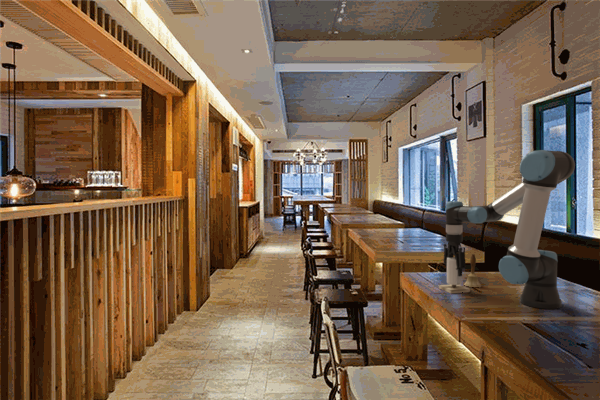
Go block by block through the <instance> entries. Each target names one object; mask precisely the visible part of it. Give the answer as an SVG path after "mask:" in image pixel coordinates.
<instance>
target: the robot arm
mask: <svg viewBox="0 0 600 400" xmlns="http://www.w3.org/2000/svg"><path fill="white" fill-rule="evenodd" d="M575 164H576V163H575V160H574V158H573V157H572V156H571V155H570V154H569V153H567V152H565V151H561V150H546V149H540V150H539V149H538V150H531V151H530V152H528V153H527V154H525V155H524V157H523V158H522V159H521V161H520V164H519V173H520V174H521V177H522V178H523V179H522V182H520V183H518V184H517V185H516V186H513V188H511V189H510V190H508V191H506V192H505V193H504V194H502V195H501V196H499V197H498V198H496V199H495V200H493V201H492V202H491V203H489V204H488V205H475V206H473V205H466V206H465V205H464V203H463V201H458V200H457V201H456V200H455V201H454V200H453V201H450V200H449V201H447V202H446V204H445V205H446V206H445V217H446V218H445V233H446V234H445V241H446V242H447V243H445V244H444V243H443V249H444V250H443V265H445V266H446V272H447V258H452V257H455V260H456V265H457V268H456V283H462V282H463V270H464V269H467V268H466V254H465V253H466V247H463V246H462V245H461V243H463V241H464V240H463V236H464V235H463V224H464V223H471V224H484V223H485V222H486V223H487V222H488V223H489V222H497V221H498V222H499V221H501V220H502V219H503V218H504V216H505V215H506V214H507V213H509V212H511V211H513V210H514V209H515V208H517V207H519V206H521V208H520V213H519V217H518V222H517V226H516V231H515V235H514V238H513V239H514V240H513V244H511V245H510V246H508V248H507V252H506V255H504V256H503V257H502V258H500V260H499V262H498V271H499V274H500V275H501V277H502V279H504V280H505V281H506V282H508V284H512V285H524V287H523V289H522V294H520V299H519V301H520V303H521V304H523V305H524V306H527V307H531V308H537V309H545V310H546V309H547V310H555V309H560V308H562V305H563V304H562V303H563V301H562V299H561V297H560V294H559V290H558V262H559V260H558V254H557V253H556V252H555V251H551V250H546V249H545V250H543V249H538V247H539V244H540V239H541V234H542V230H543V226H544V221H545V219H546V214H547V208H548V204H549V201H550V196H551V192H552V191H554V190H555V189H557V187H558V185H559V184H561V183H562V182H564V181H565V180H567V179H569V178H570V177H571V176H572V175H573V173H574V171H575V166H576V165H575ZM462 284H463V283H462Z"/></svg>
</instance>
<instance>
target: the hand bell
mask: <svg viewBox="0 0 600 400" xmlns="http://www.w3.org/2000/svg"><path fill="white" fill-rule="evenodd" d="M469 261H470V273H469V274H468V275H467V277H466V278H467V279H466V280H465V282H464V283H463V286H464V285H465V286H464V287H466V286H469V287H468V288H472V287H479V288H481V287H482V284H481V283H480V281H479V280H478V279H479V278H478V276H479V275H477V274H476V272H475V269H476V268H475V267H476V264H477V263H476V262H477V259H476V255H475V254H474V253H471V256H470V259H469Z"/></svg>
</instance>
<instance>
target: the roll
mask: <svg viewBox="0 0 600 400" xmlns="http://www.w3.org/2000/svg"><path fill="white" fill-rule="evenodd" d="M456 268H457V265H456V260H455V256H453V257H452V258H447V271H446V284H447V285H450V284H451V285H461V286H462V284H463V283H456Z"/></svg>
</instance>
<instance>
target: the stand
mask: <svg viewBox="0 0 600 400" xmlns="http://www.w3.org/2000/svg"><path fill="white" fill-rule="evenodd" d="M438 289H440V290H442V291H444V292H446V293H449V294H460V293H462V292H463V293H470V291H471V289H470V287H466V286H464V285H462V284H461V285H451V284H438Z"/></svg>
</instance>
